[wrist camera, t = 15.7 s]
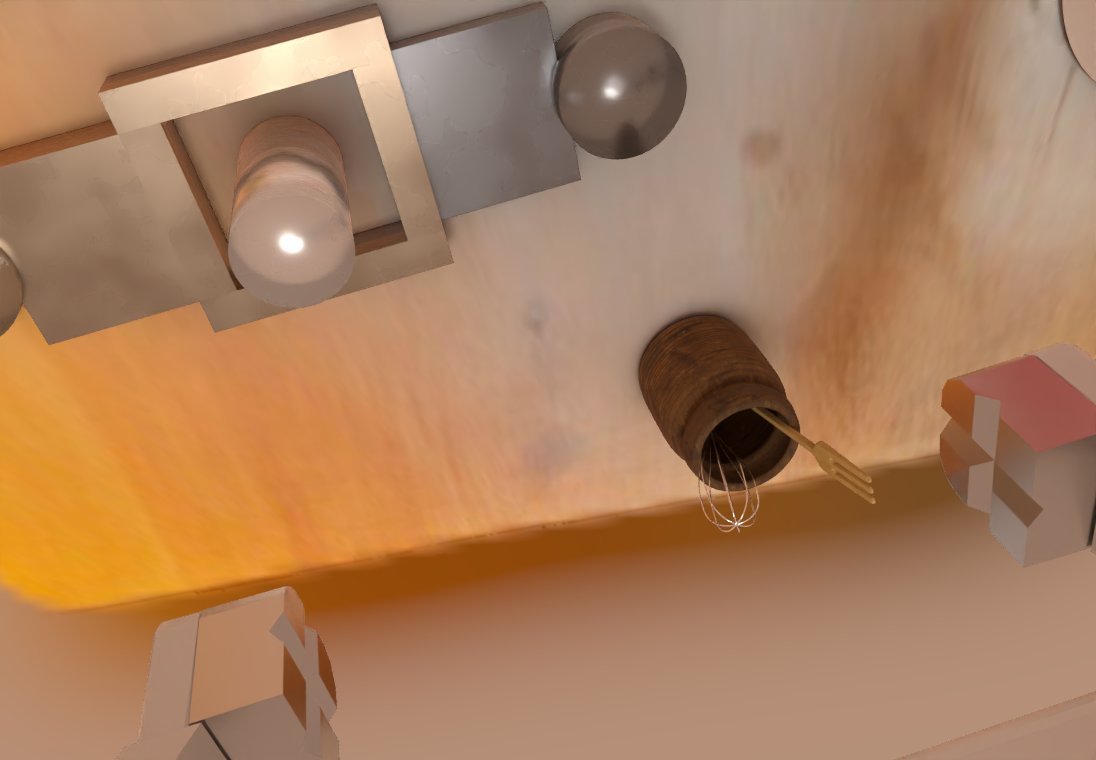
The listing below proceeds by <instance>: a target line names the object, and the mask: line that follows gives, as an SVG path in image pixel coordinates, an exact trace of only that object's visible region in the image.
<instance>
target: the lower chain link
mask: <svg viewBox="0 0 1096 760" xmlns="http://www.w3.org/2000/svg"><path fill="white" fill-rule="evenodd" d="M374 10H378V8H377V5H376V3H375V4H372V5H368V6H364V7H361V8H357V9H353V10H350V11H346V12H342V13H339V14H335V15H331V16H328V17H324V18H320V19H317V20H313V21H309V22H306V23H302V24H298V25H295V26H291V27H287V28H284V29H280V30H276V31H273V32H269V33H265V34H262V35H258V36H255V37H251V38H247V39H244V40H240V41H236V42H233V43H229V44H225V45H222V46H218V47H214V48H211V49H207V50H203V51H200V52H196V53H192V54H189V55H185V56H181V57H178V58H174V59H170V60H167V61H163V62H159V63H156V64H152V65H148V66H145V67H141V68H137V69H134V70H130V71H126V72H123V73H119V74H115V75H112V76H108V77H107V78H106V79H105V81H104V83H103V85H104V84H107V83H111V82H115V81H118V80H122V79H126V78H129V77H133V76H137V75H140V74H144V73H148V72H151V71H155V70H159V69H162V68H166V67H170V66H173V65H177V64H181V63H184V62H188V61H192V60H195V59H199V58H203V57H206V56H210V55H214V54H217V53H221V52H224V51H228V50H232V49H235V48H239V47H243V46H246V45H250V44H254V43H257V42H261V41H265V40H268V39H272V38H276V37H279V36H283V35H287V34H290V33H294V32H298V31H301V30H305V29H309V28H312V27H316V26H320V25H323V24H327V23H331V22H334V21H338V20H342V19H345V18H349V17H353V16H356V15H360V14H363V13H367V12H371V11H374ZM389 47H390V50H391V54H392V57H393V60H394V64H395V67H396V70H397V74H398V77H399V81H400V84H401V87H402V91H403V94H404V97H405V101H406V104H407V107H408V111H409V114H410V117H411V121H412V124H413V127H414V131H415V134H416V138H417V141H418V144H419V148H420V151H421V154H422V158H423V161H424V164H425V168H426V171H427V174H428V178H429V181H430V185H431V188H432V191H433V195H434V198H435V201H436V205H437V208H438V211H439V215H440V218H441V220H444V219H447V218H451V217H454V216H458V215H461V214H464V213H468V212H471V211H475V210H478V209H482V208H485V207H489V206H492V205H496V204H499V203H502V202H506V201H509V200H513V199H516V198H520V197H523V196H527V195H530V194H534V193H537V192H540V191H544V190H547V189H551V188H554V187H558V186H561V185H565V184H568V183H572V182H575V181H578V180H581V178H580V173H579V168H578V163H577V158H576V153H575V148H574V143H573V139H574V141H575V142H576V143H577V144H578V145H579V146H580V147H581V148H583V149H584V150H586V151H587V152H589V153H591V154H593V155H595V156H599V157H602V158H607V159H626V158H631V157H635V156H638V155H640V154H643V153H645V152H647V151H649V150H650V149H652V148H653V147H655V146H656V145H658V144H659V143H660V142H661V141H662V140H663V139H664V138H665V137H666V136H667V135H668V134H669V133H670V132H671V130H672V129H673V128H674V126H675V124H676V123H677V121H678V119H679V117H680V115H681V113H682V110H683V106H684V103H685V98H686V88H687V85H686V75H685V70H684V67H683V64H682V61H681V59H680V57H679V55H678V54H677V52H676V51H675V49H674V48H673V47H672V46H671V45H670V44H669V43H668V42H667V41H666V40H665V39H663V38H662V37H661V36H660V35H658V34H657V33H656V32H654V31H653V30H652V29H651V28H649V27H648V26H647V25H646V24H644V23H643V22H642V21H640V20H638V19H637V18H635V17H632V16H630V15H627V14H622V13H614V12H610V13H601V14H596V15H593V16H590V17H587V18H585V19H583V20H582V21H580V22H578V23H577V24H575V25H574V26H573V27H571V28H570V29H569V30H568V31H567V32H566V33H565V34H564V35H563V36H562V37H561V39H560V40H559V42H558V43H557V44H556V46H555V47H554V42H553V37H552V32H551V27H550V22H549V17H548V12H547V8H546V6H545V5H544V4H543V3H542V2H539V3H535V4H531V5H528V6H524V7H520V8H517V9H513V10H510V11H506V12H502V13H499V14H495V15H492V16H488V17H484V18H481V19H477V20H473V21H470V22H466V23H463V24H459V25H455V26H452V27H448V28H444V29H441V30H437V31H434V32H430V33H426V34H423V35H419V36H415V37H412V38H408V39H405V40H401V41H397V42H394V43H390V44H389ZM166 122H167V124H168V126H169V128H170V130H171V133H172V135H173V137H174V139H175V141H176V144H177V146H178V148H179V150H180V152H181V155H182V157H183V159H184V161H185V163H186V166H187V168H188V170H189V172H190V174H191V177H192V179H193V181H194V183H195V185H196V188H197V190H198V192H199V194H200V197H201V199H202V201H203V203H204V205H205V208H206V210H207V212H208V214H209V216H210V219H211V221H212V223H213V225H214V227H215V230H216V232H217V234H218V236H219V238H220V241H221V243H222V245H223V247H224V249H225V252H226V254H227V256H228V242H227V240H226V238H225V236H224V234H223V231H222V229H221V227H220V225H219V222H218V220H217V218H216V216H215V214H214V211H213V209H212V207H211V205H210V202H209V200H208V198H207V196H206V194H205V191H204V189H203V187H202V185H201V182H200V180H199V178H198V176H197V173H196V171H195V169H194V167H193V165H192V162H191V160H190V158H189V156H188V153H187V151H186V149H185V147H184V145H183V142H182V140H181V138H180V136H179V133H178V131H177V129H176V127H175V125H174V122H173V120H168V121H166ZM402 231H405V230H404V227H403V224H402V221H400V222H397V223H393V224H390V225H386V226H383V227H379V228H376V229H372V230H369V231H366V232H362V233H359V234H355V235H353V238H354V245H357V244H361V243H364V242H368V241H371V240H375V239H378V238H382V237H385V236H388V235H392V234H395V233H399V232H402ZM228 258H229V257H228Z"/></svg>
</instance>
